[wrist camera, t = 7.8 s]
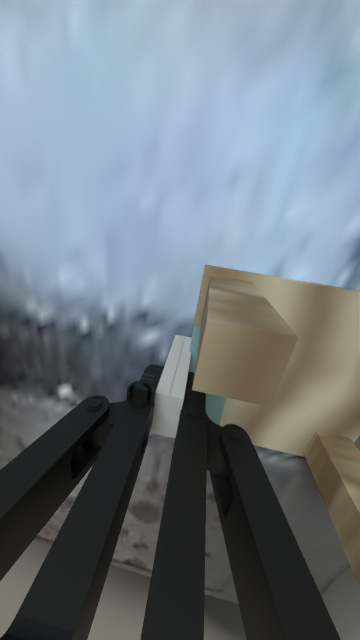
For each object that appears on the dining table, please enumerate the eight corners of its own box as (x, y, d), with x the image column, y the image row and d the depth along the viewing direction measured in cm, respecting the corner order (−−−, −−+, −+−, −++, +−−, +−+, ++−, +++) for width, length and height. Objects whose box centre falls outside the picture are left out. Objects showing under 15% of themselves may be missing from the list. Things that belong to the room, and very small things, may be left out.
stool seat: (176, 418, 22) (150, 547, 13) (205, 264, 16) (194, 302, 7) (333, 455, 21) (427, 625, 12) (430, 303, 15) (780, 411, 6)
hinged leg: (210, 433, 21) (210, 471, 17) (180, 427, 21) (174, 464, 18) (232, 331, 16) (237, 356, 13) (194, 326, 17) (189, 348, 13)
